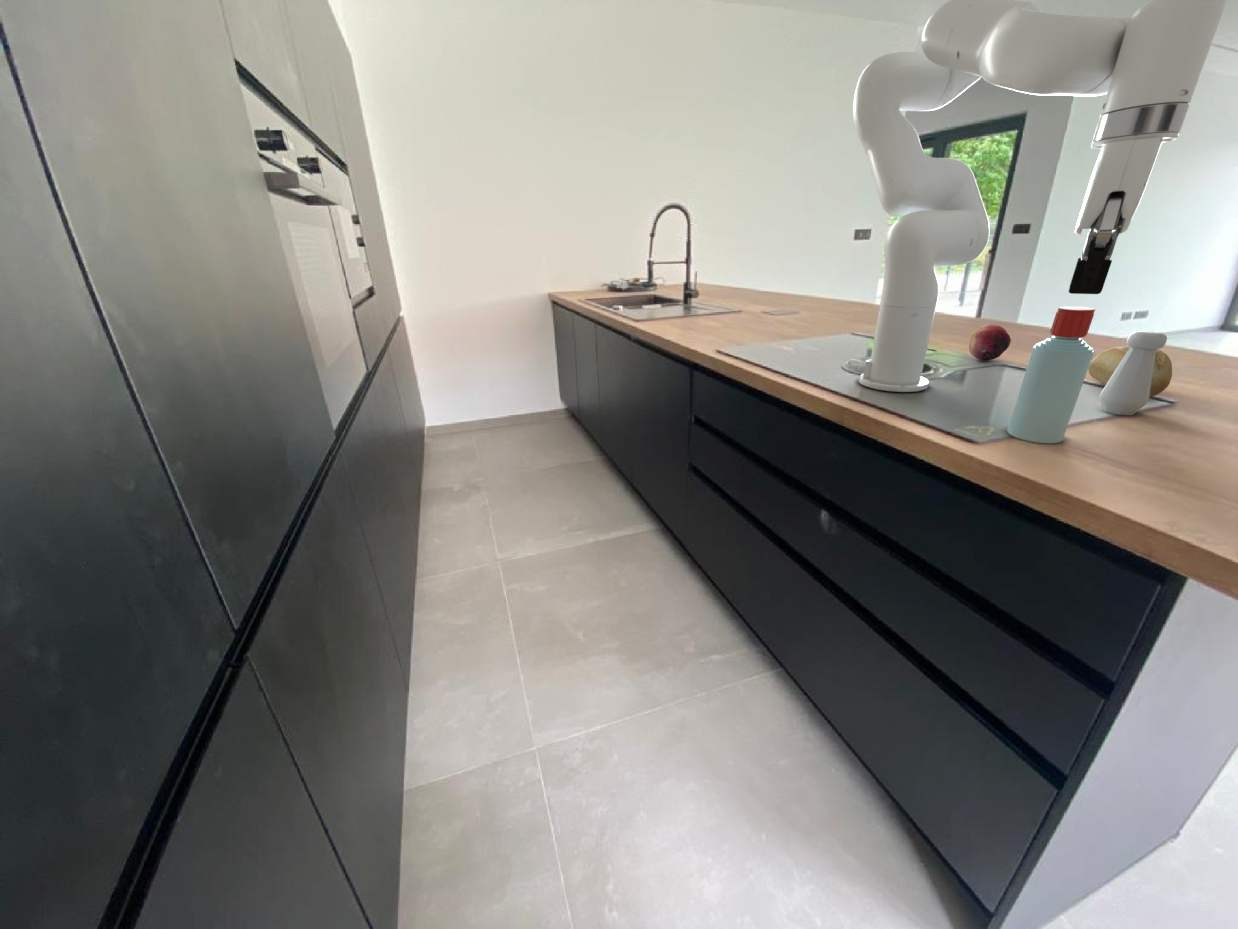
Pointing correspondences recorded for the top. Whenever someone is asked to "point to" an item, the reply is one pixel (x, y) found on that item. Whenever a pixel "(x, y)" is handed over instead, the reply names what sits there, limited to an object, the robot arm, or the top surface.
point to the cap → (1072, 321)
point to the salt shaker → (1132, 375)
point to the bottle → (1050, 389)
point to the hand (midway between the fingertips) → (1084, 289)
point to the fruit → (989, 342)
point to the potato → (1111, 358)
